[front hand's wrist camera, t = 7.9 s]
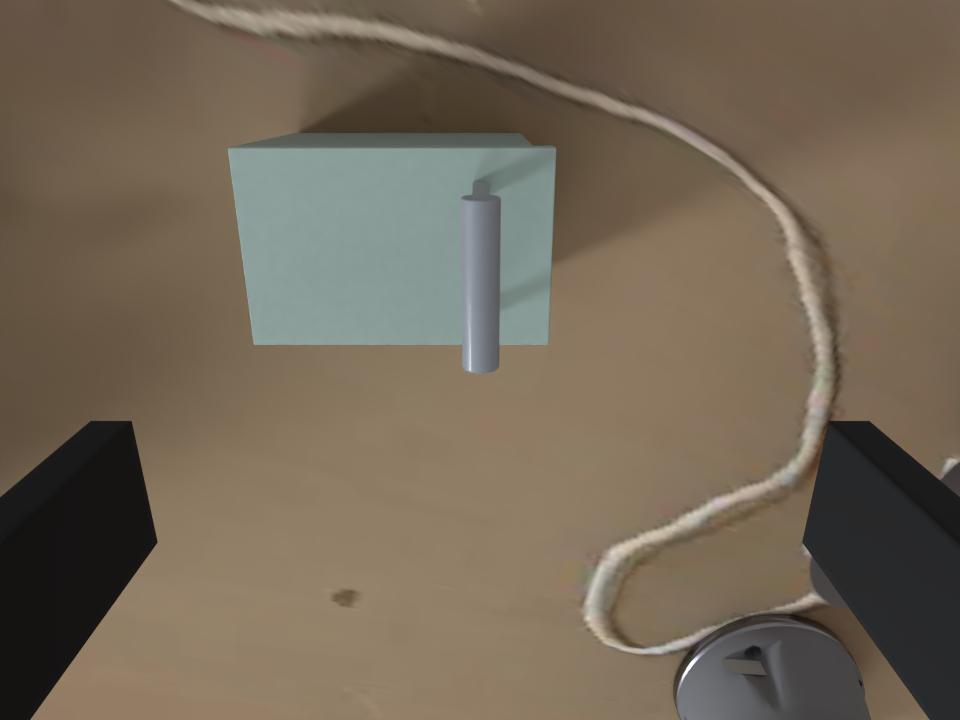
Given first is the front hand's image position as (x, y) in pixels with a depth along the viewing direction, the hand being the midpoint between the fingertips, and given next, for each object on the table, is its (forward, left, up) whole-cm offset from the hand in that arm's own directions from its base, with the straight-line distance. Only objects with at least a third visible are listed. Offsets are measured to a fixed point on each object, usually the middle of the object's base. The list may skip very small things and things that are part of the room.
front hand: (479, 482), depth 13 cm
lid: (+4, +1, -21) cm, 22 cm away
